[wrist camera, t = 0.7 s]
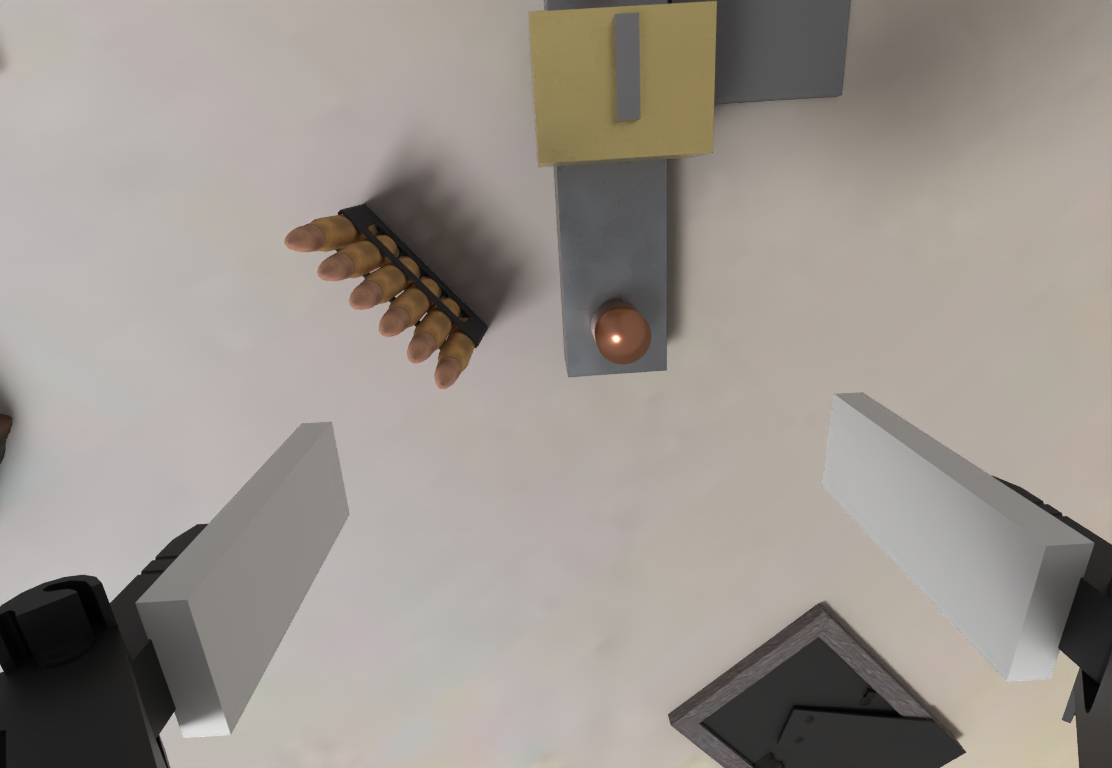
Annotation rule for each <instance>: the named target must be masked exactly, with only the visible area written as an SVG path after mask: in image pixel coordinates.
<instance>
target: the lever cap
mask: <svg viewBox="0 0 1112 768" xmlns="http://www.w3.org/2000/svg"><path fill="white" fill-rule="evenodd" d="M716 14H717V1H707V2H690V3H673V4H655V5H638V6H621V7H604V8H587V9H570V10H553V11H536V12H529V34H530V54H531V69H532V84H533V99H534V114H535V130H536V145H537V160H538V167H551V166H567V165H583V164H598V163H614V162H630V161H646V160H662V159H678V158H688V157H693V156H698V155H703V154H708V153H713V129H714V90H715V52H716Z"/></svg>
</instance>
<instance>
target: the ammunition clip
mask: <svg viewBox="0 0 1112 768" xmlns="http://www.w3.org/2000/svg"><path fill="white" fill-rule="evenodd" d="M337 214H338V215H337V216H330V217H324V218H319V219H315V220H314V221H312V222H311V223H309V224H306V225H304V226H300V227H298V228H296V229H294V230H292V231H291V232H290V233H289V234H288V235H287V236H286V238H285V241H284V242H285V245H286V246H287V247H288V248H289V249H291V250H294V251H297V252H311V251H324V252H328V251H332V250H336V251H337V253H335V254H334V255H332V256H330V257H328V258H327V259H325V260H324V261H323V262H322V263H321V264H320V266H319V268H318V272H317V273H318V276H319V277H320V278H321V279H323V280H326V281H339V280H343V279H347V278H357V277H360V276H363V277H364V278H365V279H364V281H363V282H362V283H361V284H360V285H359V286H357V287H356V288H355V289H354V290H353V292H352V293H351V295H350V299H349V303H350V306H351V307H352V308H354V309H358V310H364V309H368V308H371V307H373V306H375V305H378V304H381V303H386V302H388V301H389V302H390V303H391V304H390V306H389V309H388V310H387V312H386V313H385V314H384V315H383V317H382V319H381V320H380V324H379V332H380V334H381V335H383V336H385V337H391V336H395V335H398V334H399V333H401V332H402V331H404V330H405V329H406V328H408V327H411V326H413V325H415V326H416V329H415V331H414V336H413V338H412V340H411V342H410V343H409V346H408V350H407V355H408V359H409V361H410V362H412V363H420V362H423V361H424V360H426V359H427V358H428V357H430V355H431V354H432V353H433V352H434V351H435V350H437V349H438V348H439V349H440V353H439V356H438V364H437V367H436V371H435V383H436V385H437V387H438V388H440V389H446V388H448V387H450V386H451V385H452V384H453V383H454V382H455V381H456V380H457V378H458V377H459V375H460V373H461V372H462V371H463V370H464V369H465V368H466V367H467V365H468V363H469V360H470V358H471V355H472V353H473V350H474V348H476V347H477V346H478V345H479V343H480V342H481V340H482V338H483V336H484V335H485V333H486V331H487V326H486V324H485V323H484V322H483V321H482V320H481V319H480V318H479V317H478V316H477V315H476V314H475V313H474V312H473V311H472V310H471V309H470V308H469V307H468V306H467V305H466V304H465V303H463V302H462V301H461V300H460V299H459V298H458V297H457V296H456V295H455V294H454V293H453V292H452V291H451V290H450V289H449V288H448V287H447V286H446V285H445V284H444V283H443V282H442V281H441V280H440V279H439V278H438V277H437V276H436V275H435V274H434V273H433V272H432V271H431V270H430V269H429V268H428V267H427V266H426V265H425V264H424V263H423V262H422V261H421V260H420V259H419V258H418V257H417V256H416V255H415V254H414V253H413V252H412V251H411V250H410V249H409V248H408V247H407V246H406V245H405V244H404V243H403V242H402V241H401V240H400V239H399V238H398V237H397V236H396V235H395V234H394V233H393V232H392V231H391V230H390V229H389V228H388V227H387V226H386V225H385V224H384V223H383V222H382V221H381V220H380V219H379V218H378V217H377V216H376V215H375V214H374V213H373V212H372V211H371V210H370V209H369V208H368V207H367V206H366V205H365V204H362V205H358V206H354V207H350V208H346V209H342V210H340V211H339V212H338V213H337ZM341 214H343V215H341ZM379 267H381V268H379ZM377 268H379V269H377ZM375 269H377V270H376V271H374V272H372V273H369V272H371V271H373V270H375ZM403 290H404V292H403V293H402V294H400V295H399V296H398V297H397V298H396V297H395V296H396V295H397V294H399V293H400V292H401V291H403ZM426 312H427V314H426V316H425V317H424V318H423V319H422V321H419V320H420V319H421V318H422V316H423V315H424V314H425V313H426ZM448 335H449V336H448ZM447 336H448V338H447ZM446 338H447V340H446Z"/></svg>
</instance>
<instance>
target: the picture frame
mask: <svg viewBox="0 0 1112 768" xmlns="http://www.w3.org/2000/svg"><path fill="white" fill-rule="evenodd" d="M668 716H669V720H670V724H671V726H673V727H674V728H675V729H676V730H678V731H679V732H680V733H681V734H683V735H684V736H685V737H686V738H688V739H689V740H690V741H691V742H693V743H694V744H695V745H696V746H698V747H699V748H700V749H701V750H703V751H704V752H705V753H706V754H708V755H709V756H710V757H711V758H713V759H714V760H715V761H716V762H718V763H719V764H720V765H721V766H723V767H724V768H940V767H942V766H943V765H945V764H947V763H949V762H950V761H952V760H954V759H956V758H957V757H959V756H961V755H962V754H964V753H966V751H965V750H964V749H963V747H962V746H961V745H960V743H959V742H958V741H957V740H956V738H955V737H954V736H953V735H952V734H951V733H950V732H949V731H948V730H947V729H946V728H945V727H944V726H943V725H942V724H941V723H940V722H939V721H938V720H937V719H936V718H935V717H934V716H933V715H932V714H931V713H930V712H928V711H927V710H926V709H925V708H924V707H923V706H922V705H921V704H920V703H919V702H918V701H917V700H916V699H915V698H914V697H913V696H912V695H911V694H910V693H909V692H908V691H907V690H906V689H905V688H904V687H903V686H902V685H901V684H900V683H899V682H898V681H897V680H896V679H895V678H894V677H893V676H892V675H891V674H890V673H889V672H888V671H887V670H886V669H885V668H884V667H883V666H882V665H881V664H880V663H879V662H878V661H877V660H875V659H874V658H873V657H872V656H871V655H870V654H869V653H868V652H867V651H866V650H865V649H864V648H863V647H862V646H861V645H860V644H859V643H858V642H857V641H856V640H855V639H854V638H853V637H852V636H851V635H850V634H849V633H848V632H847V631H846V630H845V629H844V628H843V627H842V626H841V625H840V624H839V623H838V622H837V621H836V620H835V619H834V618H833V617H832V616H831V615H830V614H829V613H828V612H827V611H826V610H825V609H824V608H823V607H821V606H820V605H819V604H817V605H816V606H814V607H813V608H811V609H810V610H809V611H807V612H806V613H805V614H803V615H802V616H801V617H799V618H798V619H797V620H795V621H794V622H793V623H791V624H790V625H789V626H787V627H786V628H784V629H783V630H782V631H780V632H779V633H778V634H776V635H775V636H774V637H772V638H771V639H770V640H768V641H767V642H766V643H764V644H763V645H761V646H760V647H759V648H757V649H756V650H755V651H753V652H752V653H751V654H749V655H748V656H747V657H745V658H744V659H743V660H741V661H740V662H738V663H737V664H736V665H734V666H733V667H732V668H730V669H729V670H728V671H726V672H725V673H724V674H722V675H721V676H719V677H718V678H717V679H715V680H714V681H713V682H711V683H710V684H709V685H707V686H706V687H705V688H703V689H702V690H701V691H699V692H698V693H696V694H695V695H694V696H692V697H691V698H690V699H688V700H687V701H686V702H684V703H683V704H682V705H680V706H679V707H678V708H676V709H675V710H673V711H672V712H671V713H669V714H668Z"/></svg>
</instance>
